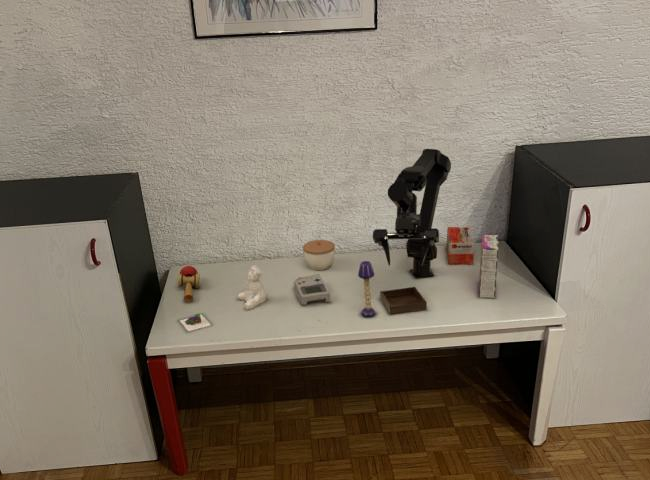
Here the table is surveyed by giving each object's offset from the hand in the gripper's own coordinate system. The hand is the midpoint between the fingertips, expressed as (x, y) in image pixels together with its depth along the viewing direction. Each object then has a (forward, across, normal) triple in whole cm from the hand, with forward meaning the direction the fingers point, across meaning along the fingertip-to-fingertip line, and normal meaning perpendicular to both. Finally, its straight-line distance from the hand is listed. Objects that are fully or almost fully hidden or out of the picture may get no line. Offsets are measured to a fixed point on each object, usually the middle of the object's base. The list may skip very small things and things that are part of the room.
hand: (405, 265), depth 200 cm
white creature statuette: (+9, -47, +10) cm, 49 cm away
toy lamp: (+14, -11, +6) cm, 19 cm away
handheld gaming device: (+6, -30, +15) cm, 34 cm away
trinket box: (-7, -32, +32) cm, 46 cm away
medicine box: (-14, +15, +43) cm, 48 cm away
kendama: (+5, -71, +14) cm, 72 cm away
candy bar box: (+3, +24, +22) cm, 32 cm away
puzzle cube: (+18, -62, -2) cm, 64 cm away
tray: (+9, -1, +12) cm, 15 cm away
